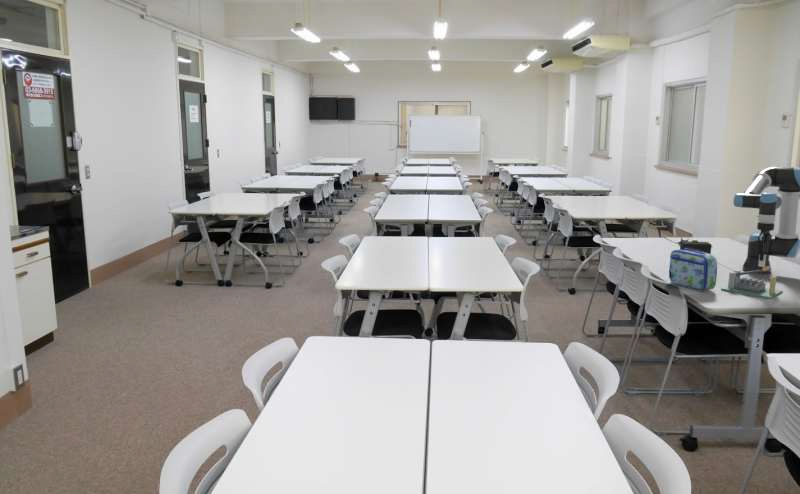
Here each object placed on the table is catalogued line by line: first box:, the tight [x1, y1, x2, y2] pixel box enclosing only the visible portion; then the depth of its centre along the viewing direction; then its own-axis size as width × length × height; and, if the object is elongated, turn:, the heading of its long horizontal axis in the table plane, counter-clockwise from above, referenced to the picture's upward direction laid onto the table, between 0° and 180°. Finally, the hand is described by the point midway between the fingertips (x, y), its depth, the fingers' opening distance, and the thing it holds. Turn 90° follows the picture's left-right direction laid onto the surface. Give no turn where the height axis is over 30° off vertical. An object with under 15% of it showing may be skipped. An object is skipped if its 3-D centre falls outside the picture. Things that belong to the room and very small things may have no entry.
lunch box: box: [668, 248, 718, 291], centre depth 331 cm, size 26×11×21 cm, turn 21°
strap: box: [736, 265, 772, 276], centre depth 321 cm, size 4×16×2 cm, turn 42°
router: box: [679, 239, 713, 255], centre depth 362 cm, size 8×18×20 cm, turn 78°
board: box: [720, 269, 783, 300], centre depth 322 cm, size 19×24×10 cm
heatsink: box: [736, 276, 767, 293], centre depth 323 cm, size 10×11×6 cm
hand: (761, 266), depth 317 cm, fingers closed
